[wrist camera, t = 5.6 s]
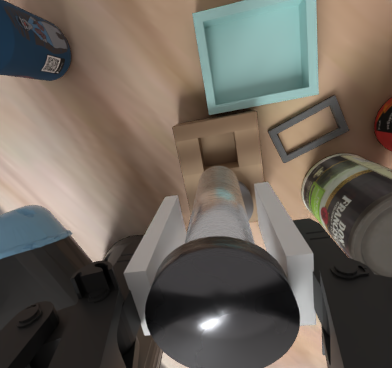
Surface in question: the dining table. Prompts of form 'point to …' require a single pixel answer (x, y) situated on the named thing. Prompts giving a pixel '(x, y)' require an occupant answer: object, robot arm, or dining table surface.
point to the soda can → (31, 45)
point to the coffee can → (354, 207)
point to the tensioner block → (222, 153)
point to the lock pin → (221, 288)
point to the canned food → (384, 125)
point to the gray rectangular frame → (330, 101)
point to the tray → (257, 52)
